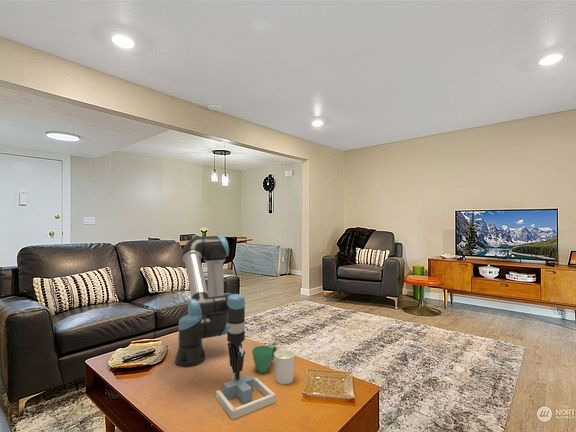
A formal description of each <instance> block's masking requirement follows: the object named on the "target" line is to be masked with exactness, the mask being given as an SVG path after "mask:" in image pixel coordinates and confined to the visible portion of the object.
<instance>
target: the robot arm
mask: <svg viewBox="0 0 576 432" xmlns="http://www.w3.org/2000/svg"><path fill="white" fill-rule="evenodd" d="M229 255H230V248H229V242H228V240H227V237H225V236H223V235H211V236H205V235H204V236H194V237H193V238H191V239H189V240H188V241H187V242H186V243H185V244H184V247H183V249H182V251H181V258H182V261H183V263H185V269H186V270H185V271H186V275H187V281H188V286H189V292H190V299H188V301H187V312H188V314H186V315H184V316H182V317H180V319H179V320H178V328H177V329H178V348H177V351H176V353H175V358H174V362H175V363H174V364H175V365H176V366H178V367H182V368H188V367H189V368H190V367H193V366H194V367H195V366H199V365H201V364H202V363H203V362H205V360H206V351H205V350H204V347H203V339H209V338H213V337H221V336H225V335H226V339H227V348H228V355H229V356H228V357H229V366H230V368H231V371H232V381H233V380H237V379H239V378H241V377H240V376H241V374H240V373H241V372H243V368H244V367H243V366H244V361H245V355H246V352H245V350H243V345H242V344H243V342H244V341H245V338H246V335H245V334H246V332H245V330H246V320H245V317H246V315H245V314H246V311H245V310H246V308H245V307H246V302H245V299H246V298H245V296H244V295H242V294H239V293H234V294H232V293H230V292H226V293H224V292H225V291H224V290H225V288H224V286H225V284H224V262H225V261H226V259H227V258H226V257H229ZM202 259H203V261H204V262H205V264H206V267H207V268H206V270H207V271H206V272H207V283H206V278H205V274H204V270H203V264H202V262H201V261H202Z"/></svg>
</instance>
